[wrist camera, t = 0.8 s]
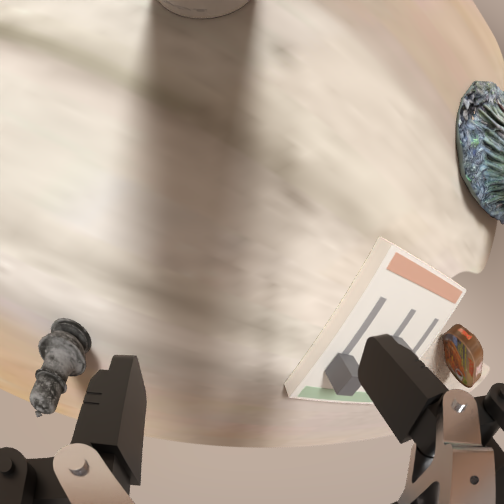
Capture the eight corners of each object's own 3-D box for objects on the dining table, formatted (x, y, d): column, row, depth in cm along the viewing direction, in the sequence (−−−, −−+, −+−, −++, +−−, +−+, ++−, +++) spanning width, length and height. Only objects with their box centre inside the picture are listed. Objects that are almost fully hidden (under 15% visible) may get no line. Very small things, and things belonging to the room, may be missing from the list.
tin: (440, 324, 38) (472, 356, 30) (454, 312, 38) (487, 342, 30) (445, 368, 44) (468, 396, 37) (457, 358, 44) (481, 385, 36)
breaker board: (379, 235, 29) (392, 244, 27) (455, 282, 35) (467, 290, 33) (284, 383, 36) (289, 398, 33) (375, 393, 41) (381, 404, 39)
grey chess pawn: (102, 351, 29) (79, 435, 18) (66, 359, 29) (38, 435, 18) (76, 310, 27) (36, 392, 16) (40, 322, 27) (-1, 396, 16)
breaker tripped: (390, 334, 32) (407, 355, 28) (401, 338, 33) (418, 357, 29) (377, 353, 33) (392, 374, 29) (388, 355, 34) (403, 375, 30)
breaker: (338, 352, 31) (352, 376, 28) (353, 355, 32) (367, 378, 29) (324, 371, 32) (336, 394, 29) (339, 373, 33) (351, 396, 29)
